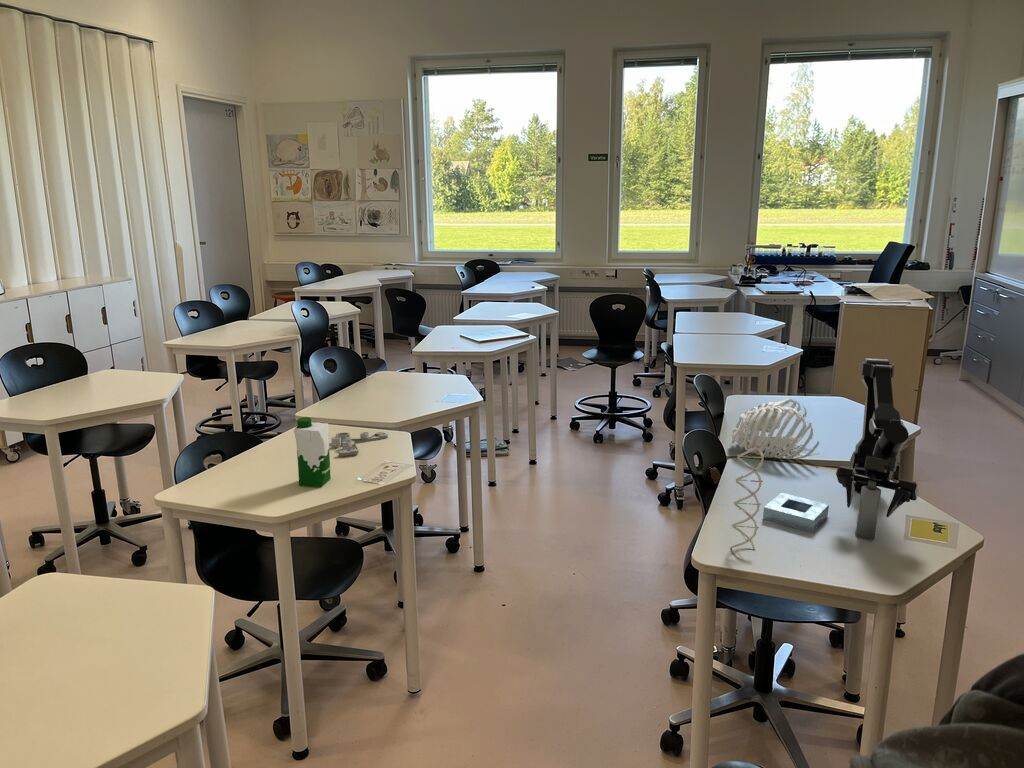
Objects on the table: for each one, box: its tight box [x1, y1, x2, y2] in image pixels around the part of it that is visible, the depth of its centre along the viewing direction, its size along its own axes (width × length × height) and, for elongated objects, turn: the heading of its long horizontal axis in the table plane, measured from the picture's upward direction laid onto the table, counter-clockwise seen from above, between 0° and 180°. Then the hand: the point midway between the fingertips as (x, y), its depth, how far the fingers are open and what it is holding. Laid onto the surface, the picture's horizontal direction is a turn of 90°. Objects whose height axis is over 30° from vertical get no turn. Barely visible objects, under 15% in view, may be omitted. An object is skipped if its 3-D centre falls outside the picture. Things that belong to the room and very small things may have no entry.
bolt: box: [710, 466, 722, 485], centre depth 228 cm, size 6×5×15 cm
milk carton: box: [293, 417, 331, 488], centre depth 219 cm, size 9×9×20 cm
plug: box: [855, 480, 882, 541], centre depth 185 cm, size 4×4×15 cm
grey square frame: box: [762, 492, 830, 534], centre depth 197 cm, size 13×13×4 cm
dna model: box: [729, 433, 767, 550], centre depth 176 cm, size 7×6×30 cm
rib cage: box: [730, 398, 820, 460], centre depth 248 cm, size 26×18×28 cm
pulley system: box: [331, 431, 389, 458], centre depth 256 cm, size 27×5×15 cm
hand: (867, 511), depth 184 cm, fingers open, 9 cm apart
